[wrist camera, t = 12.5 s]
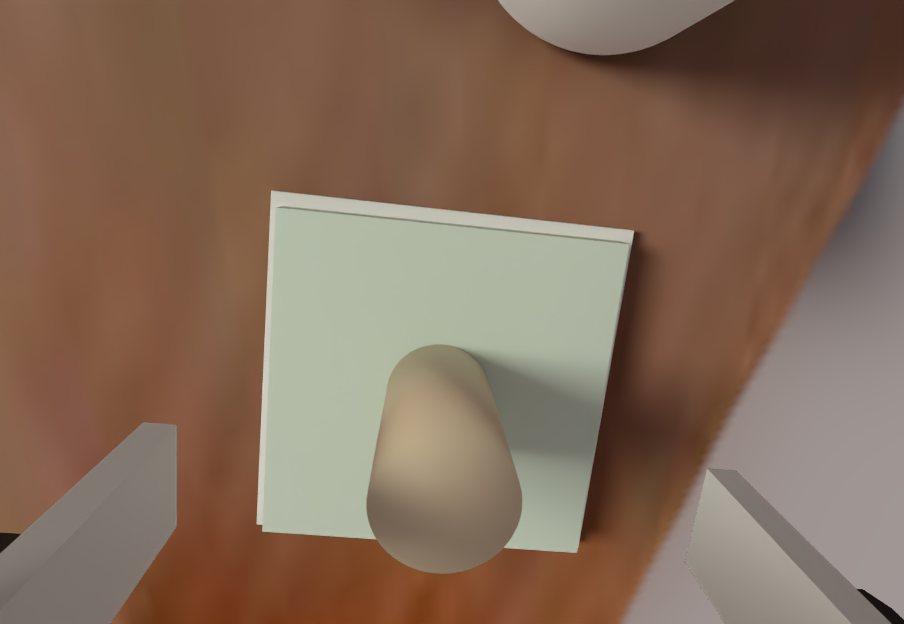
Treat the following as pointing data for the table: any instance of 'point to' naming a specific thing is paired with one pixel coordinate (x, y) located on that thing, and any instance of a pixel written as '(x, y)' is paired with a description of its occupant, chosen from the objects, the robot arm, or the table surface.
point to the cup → (608, 22)
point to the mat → (417, 214)
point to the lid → (435, 383)
